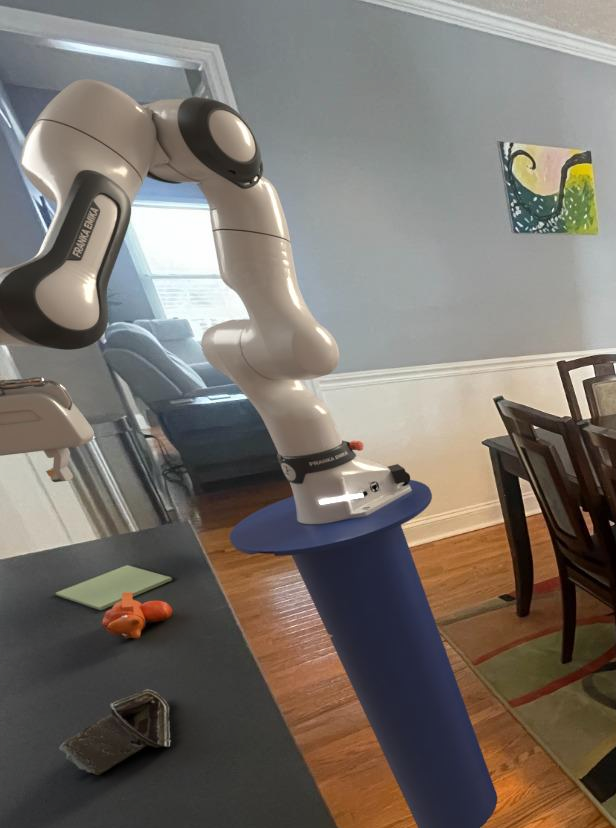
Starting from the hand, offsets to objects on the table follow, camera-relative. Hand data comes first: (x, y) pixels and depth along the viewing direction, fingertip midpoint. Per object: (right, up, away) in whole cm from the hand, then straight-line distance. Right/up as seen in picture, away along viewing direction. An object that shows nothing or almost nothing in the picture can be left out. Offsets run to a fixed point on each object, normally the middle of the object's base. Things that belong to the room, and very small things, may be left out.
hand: (20, 485), depth 82 cm
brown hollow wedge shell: (+28, -32, -12) cm, 44 cm away
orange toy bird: (+7, -21, +10) cm, 24 cm away
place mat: (-9, -16, +21) cm, 28 cm away
